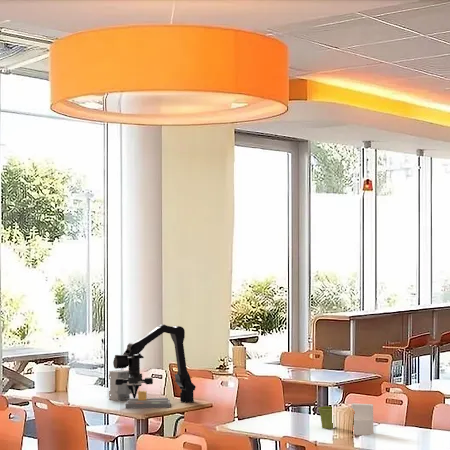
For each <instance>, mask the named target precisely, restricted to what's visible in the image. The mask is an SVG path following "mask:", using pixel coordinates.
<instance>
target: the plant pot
mask: <svg viewBox="0 0 450 450" xmlns="http://www.w3.org/2000/svg"><path fill="white" fill-rule="evenodd" d="M332 406H333V405H332ZM332 406H319V407H317V410H318V412H319V415H320V416H319V417H320V421H321V428H322V429H325V430H326V429H328V430H333V423H332Z"/></svg>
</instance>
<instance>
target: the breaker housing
mask: <svg viewBox="0 0 450 450" xmlns="http://www.w3.org/2000/svg"><path fill="white" fill-rule="evenodd" d="M170 407H171V399H169V397H147V400H138V397H135V398H133V397H132V398H131V397H130V399H127V400H126V402H125V409H155V408H156V409H157V408H158V409H161V408H163V409H164V408H170Z"/></svg>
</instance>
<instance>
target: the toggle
mask: <svg viewBox="0 0 450 450" xmlns="http://www.w3.org/2000/svg"><path fill="white" fill-rule="evenodd" d="M147 392H148V391H147V390H137V394H138V395H137V398H138V400H147V398H148V396H147Z"/></svg>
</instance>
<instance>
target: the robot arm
mask: <svg viewBox="0 0 450 450" xmlns="http://www.w3.org/2000/svg"><path fill="white" fill-rule="evenodd" d="M164 333H166V334H169V335H170V338H171V340H172V342H173V344H174V345H173V346H174V351H175V360H176V366H177V372H176V373H174V377H175V381H174V382H175V383H176V385H177V386H178V388H179V389H180V391H181V392H180V396H179V399H180V400H179V401H180V402H181V403H194V401H195V400H194V391H196V388H197V386H196V385H195V384H194V383H193V382H192V378H191V376H190V374H189V371H188V369H187V368H188V367H187V362H186V361H187V360H186V356H185V355H186V354H185V346H184V341H185V337H186V335H185V334H186V333H185V328H184V327H183V326H179V325H173V326H170V325H166V324H162V323H161V324H159V325H157V326H156V327H155V328H153V329H151V331H150V332H148V333H147V334H144V336H141V337H140V338H138V339H136V340H135V339H134V340H133V341H130V342H129V343H128V344H127V346H126V349H125V351H124V353H122V354H115V355H114V357H113V362H112V363H113V368H114V369H116V370H119V369H126V368H127V367H128V371H129V375H128V380H124V378H117V379H116V381H115V384H116V385H122V384H123V383H127V386H129V388H130V389H131V392H132V393H131V395H132V398H137V394H138V391H139V388H140V387H142V384H145V385H153V383H154V379H153V378H152V377H145V378H144V379H143V373H141V372H140V371H141V369H140V368H141V363H140V359H144V358H145V357H144V356H143V355H142V354H141V352H142V351H143V350H144V349H145V347H146V346H147V345H148V344H150V343H151V342H152V341H154V340H155V339H156V338H158V337H159V336H161V335H163V334H164ZM133 383H135V384H136V385H135V393H134V386H133Z"/></svg>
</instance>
